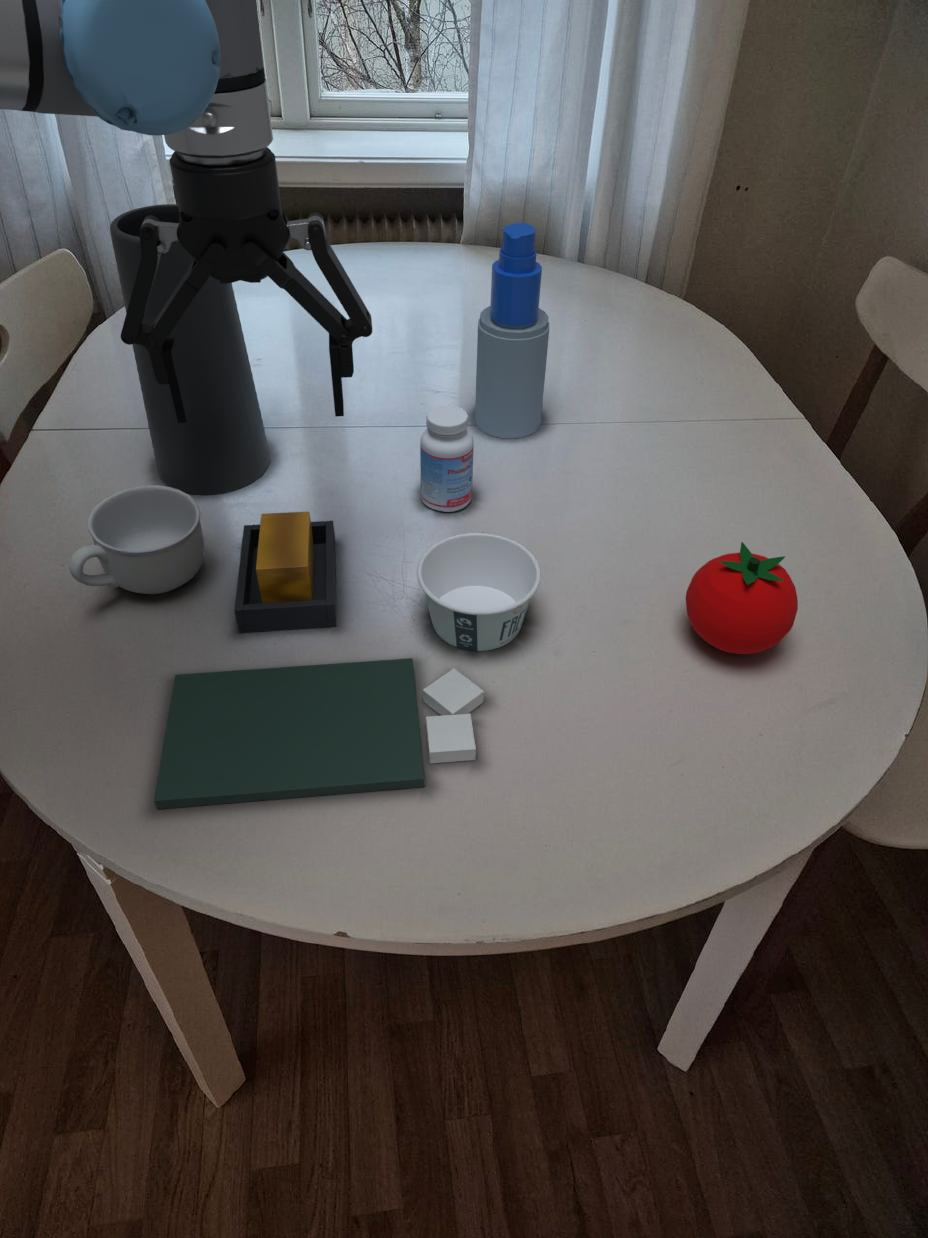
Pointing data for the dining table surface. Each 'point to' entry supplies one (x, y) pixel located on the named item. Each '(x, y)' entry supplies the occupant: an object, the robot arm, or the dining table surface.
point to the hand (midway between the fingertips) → (262, 412)
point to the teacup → (143, 540)
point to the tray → (287, 614)
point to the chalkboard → (290, 733)
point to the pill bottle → (446, 459)
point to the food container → (478, 589)
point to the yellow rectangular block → (285, 557)
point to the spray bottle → (512, 341)
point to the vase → (195, 373)
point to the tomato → (742, 602)
